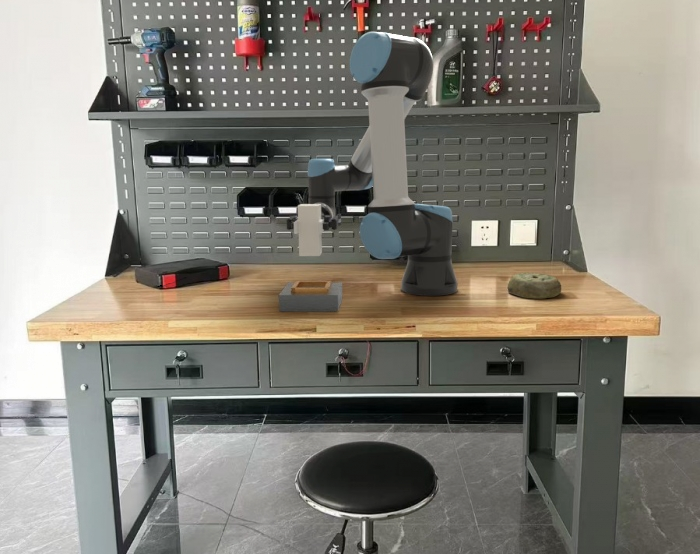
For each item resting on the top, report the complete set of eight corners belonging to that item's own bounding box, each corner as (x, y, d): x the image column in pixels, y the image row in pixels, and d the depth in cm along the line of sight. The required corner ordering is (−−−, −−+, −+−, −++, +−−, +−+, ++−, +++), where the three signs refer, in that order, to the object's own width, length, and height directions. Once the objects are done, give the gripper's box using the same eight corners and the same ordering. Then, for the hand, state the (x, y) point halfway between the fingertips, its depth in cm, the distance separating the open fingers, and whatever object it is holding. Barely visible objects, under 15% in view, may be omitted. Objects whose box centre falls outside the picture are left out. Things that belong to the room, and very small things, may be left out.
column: (321, 252, 148) (321, 204, 146) (319, 256, 143) (318, 205, 141) (301, 252, 148) (300, 204, 146) (299, 256, 143) (297, 205, 141)
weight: (563, 301, 148) (564, 282, 147) (507, 299, 152) (508, 280, 151) (558, 289, 161) (559, 271, 160) (507, 287, 165) (507, 270, 164)
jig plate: (342, 297, 155) (342, 278, 154) (338, 311, 141) (337, 290, 140) (288, 297, 155) (288, 278, 154) (279, 311, 142) (278, 290, 141)
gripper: (351, 231, 163) (346, 243, 140) (285, 231, 164) (269, 244, 141) (351, 203, 161) (345, 211, 138) (284, 203, 162) (268, 212, 139)
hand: (307, 228), depth 140 cm, fingers closed on column, 5 cm apart
